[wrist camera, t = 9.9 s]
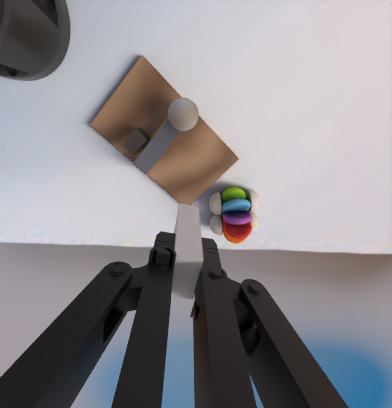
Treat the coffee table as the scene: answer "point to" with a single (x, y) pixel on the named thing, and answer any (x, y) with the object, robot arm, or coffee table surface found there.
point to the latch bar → (156, 147)
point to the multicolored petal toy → (234, 213)
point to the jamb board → (152, 122)
